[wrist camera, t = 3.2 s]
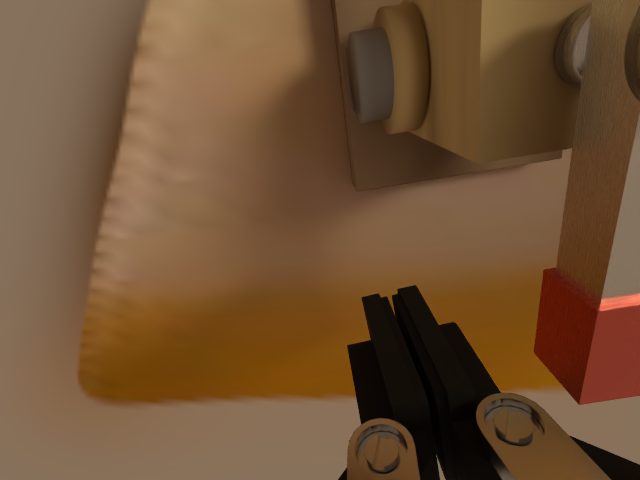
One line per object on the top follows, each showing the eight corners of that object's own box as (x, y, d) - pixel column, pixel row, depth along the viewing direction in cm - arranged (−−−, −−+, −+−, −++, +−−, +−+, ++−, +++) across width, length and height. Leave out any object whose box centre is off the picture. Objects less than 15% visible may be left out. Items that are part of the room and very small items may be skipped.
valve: (567, -93, 15) (913, -317, 6) (542, 152, 19) (732, 209, 10) (325, -51, 15) (357, -217, 6) (352, 183, 19) (394, 263, 11)
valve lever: (542, -12, 8) (693, -68, 5) (660, -31, 8) (886, -101, 5) (512, 339, 12) (584, 426, 9) (590, 326, 12) (689, 410, 9)
